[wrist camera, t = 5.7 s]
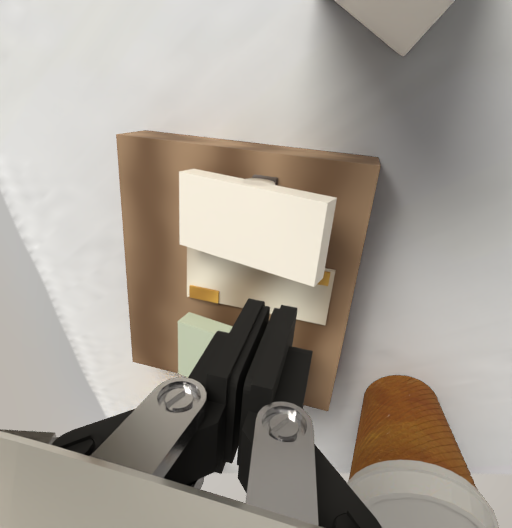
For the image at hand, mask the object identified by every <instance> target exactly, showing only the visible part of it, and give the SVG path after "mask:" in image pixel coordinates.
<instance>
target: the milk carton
mask: <svg viewBox="0 0 512 528" xmlns="http://www.w3.org/2000/svg"><path fill="white" fill-rule="evenodd" d="M334 1H335V2H336V3H338V4H339V5H340V6H341V7H342V8H344V9H345V10H346V11H347V12H348V13H350V14H351V15H352V16H353V17H354V18H356V19H357V20H358V21H359V22H361V23H362V24H363V25H364V26H365V27H367V28H368V29H369V30H370V31H371V32H373V33H374V34H375V35H376V36H377V37H379V38H380V39H381V40H382V41H383V42H385V43H386V44H387V45H388V46H389V47H391V48H392V49H393V50H394V51H396V52H397V53H398V54H400V55H401V56H405V55H406V54H407V53H408V52H409V51H410V49H411V48H412V47H413V46H414V45H415V44H416V43H417V42H418V41H419V40H420V38H421V37H422V36H423V35H424V34H425V33H426V32H427V31H428V30H429V29H430V27H431V26H432V25H433V24H434V23H435V22H436V21H437V20H438V19H439V18H440V16H441V15H442V14H443V13H444V12H445V11H446V10H447V9H448V8H449V7H450V6H451V4H452V3H453V2H454V1H455V0H334Z"/></svg>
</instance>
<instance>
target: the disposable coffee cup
mask: <svg viewBox="0 0 512 528" xmlns="http://www.w3.org/2000/svg"><path fill="white" fill-rule="evenodd" d="M460 452H461V451H460V449H459V447H458V445H457V443H456V441H455V438H454V436H453V434H452V431H451V429H450V427H449V424H448V423H447V420H446V418H445V416H444V413H443V411H442V409H441V406H440V404H439V402H438V399H437V397H436V395H435V393H434V392H433V391H432V389H431V388H430V387H429V386H427V385H426V384H425V383H423V382H422V381H420V380H418V379H415V378H412V377H409V376H401V375H393V376H387V377H383V378H381V379H379V380H377V381H375V382H373V383H372V384H371V385H370V386H369V387H368V388H367V390H366V392H365V394H364V399H363V405H362V411H361V417H360V422H359V427H358V433H357V439H356V444H355V449H354V455H353V461H352V466H351V472H350V477H349V481H348V483H347V484H348V485H349V486H350V488H351V489H352V490H353V491H354V492H355V494H356V495H357V496H358V497H359V498H360V500H361V501H362V502H363V503H364V504H365V506H366V507H367V508H368V509H369V510H370V512H371V513H372V514H373V515H374V516H375V518H376V519H377V521H378V522H379V524H380V525H381V527H382V528H499V527H498V522H497V519H496V516H495V514H494V511H493V509H492V508H491V507H490V505H489V504H488V503H487V501H486V500H485V498H484V497H483V496H482V495H481V494H480V492H479V491H478V490H477V488H476V486H475V484H474V481H473V479H472V477H471V476H470V472H469V470H468V468H467V465H466V463H465V461H464V458H463V456H462V454H461V453H460Z"/></svg>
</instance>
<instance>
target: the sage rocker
mask: <svg viewBox="0 0 512 528" xmlns="http://www.w3.org/2000/svg"><path fill="white" fill-rule="evenodd" d="M232 327H233V326H230V325H227V324H224V323H221V322H218V321H215V320H212V319H209V318H206V317H203V316H200V315H197V314H194V313H191V312H188V313H187V314H186V315H185V316H183V317H182V318H181V319H180V320H178V374H180V375H183V376H185V377H189V375H190V373H191V372H192V370H193V369H194V367H195V365H196V364H197V362H198V361H199V359H200V357H201V356H202V354H203V352H204V351H205V349H206V348H207V346H208V344H209V343H210V341H211V339H212V338H213V336H214V335H215V333H216V332H217V331H223V332H227V333H229V332H230V330H231V329H232Z"/></svg>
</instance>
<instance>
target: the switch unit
mask: <svg viewBox="0 0 512 528" xmlns="http://www.w3.org/2000/svg"><path fill="white" fill-rule="evenodd" d="M116 138H117V151H118V165H119V179H120V193H121V206H122V220H123V234H124V248H125V261H126V275H127V289H128V303H129V316H130V330H131V344H132V357H133V362H136V363H140V364H144V365H148V366H152V367H156V368H160V369H164V370H167V371H171V372H175V373H178V320H180V319H181V318H182V317H183V316H185V315H186V314H187V313H188V312H191V313H194V314H197V315H200V316H203V317H206V318H209V319H212V320H215V321H218V322H221V323H224V324H227V325H230V326H233V325H234V323H235V322H236V320H237V318H238V316H239V314H240V313H241V311H242V309H243V307H244V305H245V304H246V302H247V300H248V299H249V298H250V299H255V300H260V301H264V302H265V306H269V307H270V314H269V319H270V317H271V315H272V312H273V310H274V308H279V309H280V307H281V305H286V306H291V307H296V308H297V317H296V324H295V331H294V337H293V344H292V347H297V348H302V349H306V350H311V351H313V353H312V359H311V365H310V370H309V376H308V382H307V387H306V393H305V398H304V404H303V405H306V406H310V407H313V408H317V409H321V410H325V411H328V410H329V405H330V401H331V396H332V391H333V386H334V382H335V377H336V372H337V368H338V363H339V358H340V354H341V349H342V344H343V340H344V335H345V330H346V326H347V321H348V316H349V312H350V307H351V302H352V298H353V293H354V288H355V284H356V279H357V274H358V270H359V265H360V260H361V256H362V251H363V246H364V241H365V237H366V232H367V227H368V223H369V218H370V213H371V209H372V204H373V199H374V195H375V190H376V185H377V181H378V176H379V171H380V167H381V166H380V162H379V158H378V157H372V156H363V155H354V154H346V153H337V152H328V151H320V150H311V149H302V148H294V147H285V146H276V145H268V144H259V143H250V142H242V141H233V140H224V139H216V138H207V137H198V136H190V135H181V134H172V133H164V132H155V131H146V130H145V131H138V132H130V133H123V134H116ZM189 169H198V170H203V171H208V172H213V173H218V174H223V175H228V176H233V177H238V178H242V179H247V178H260V179H267V180H271V181H273V182H275V185H277V186H282V187H287V188H292V189H297V190H301V191H306V192H311V193H316V194H321V195H326V196H331V197H336V198H337V200H336V206H335V212H334V218H333V224H332V229H331V235H330V241H329V247H328V253H327V258H326V264H325V270H324V276H323V278H322V280H321V281H320V282H319V283H318V284H317V285H316V286H315V287H312V286H309V285H306V284H303V283H300V282H297V281H293V280H290V279H287V278H284V277H281V276H278V275H275V274H271V273H268V272H265V271H262V270H259V269H256V268H252V267H249V266H246V265H243V264H240V263H237V262H234V261H230V260H227V259H224V258H221V257H218V256H215V255H211V254H208V253H205V252H202V251H199V250H196V249H193V248H189V247H186V246H183V245H180V235H179V171H184V170H189Z"/></svg>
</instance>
